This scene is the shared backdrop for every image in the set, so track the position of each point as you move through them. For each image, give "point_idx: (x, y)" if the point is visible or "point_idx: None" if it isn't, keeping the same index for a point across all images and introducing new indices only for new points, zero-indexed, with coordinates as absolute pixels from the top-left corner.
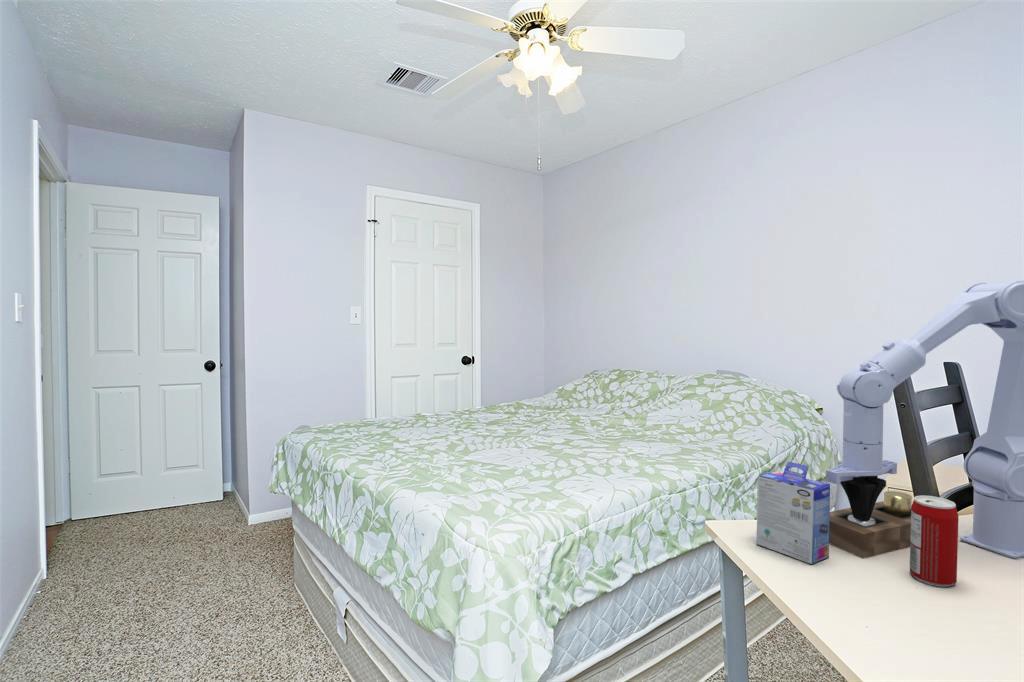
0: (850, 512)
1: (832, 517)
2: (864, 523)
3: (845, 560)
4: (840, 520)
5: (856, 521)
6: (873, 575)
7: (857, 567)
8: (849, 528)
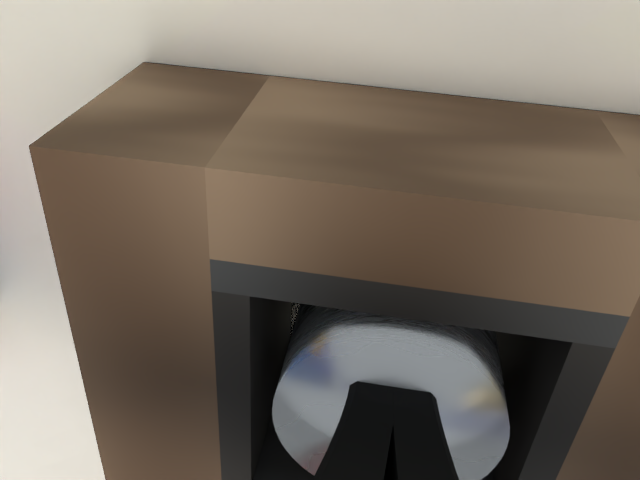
0: (493, 302)
1: (158, 282)
2: (307, 467)
3: (65, 350)
4: (167, 353)
5: (276, 431)
6: (73, 462)
7: (65, 406)
8: (101, 446)
